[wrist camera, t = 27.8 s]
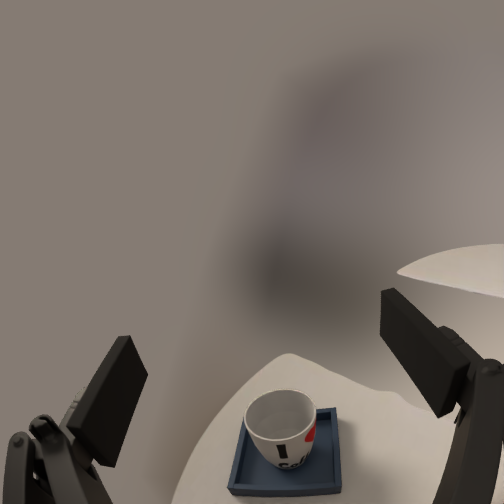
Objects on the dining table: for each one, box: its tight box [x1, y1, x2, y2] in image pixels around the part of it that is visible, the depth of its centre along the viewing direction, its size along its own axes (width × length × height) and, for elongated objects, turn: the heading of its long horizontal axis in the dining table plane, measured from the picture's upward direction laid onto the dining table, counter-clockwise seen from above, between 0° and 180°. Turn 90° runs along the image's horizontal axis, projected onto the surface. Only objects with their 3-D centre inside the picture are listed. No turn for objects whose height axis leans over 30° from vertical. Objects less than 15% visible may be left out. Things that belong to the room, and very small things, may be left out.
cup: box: [244, 389, 316, 469], centre depth 29 cm, size 8×8×10 cm
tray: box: [227, 407, 342, 497], centre depth 31 cm, size 14×14×3 cm
